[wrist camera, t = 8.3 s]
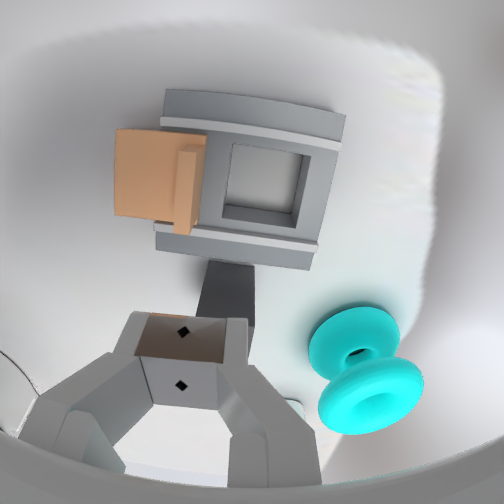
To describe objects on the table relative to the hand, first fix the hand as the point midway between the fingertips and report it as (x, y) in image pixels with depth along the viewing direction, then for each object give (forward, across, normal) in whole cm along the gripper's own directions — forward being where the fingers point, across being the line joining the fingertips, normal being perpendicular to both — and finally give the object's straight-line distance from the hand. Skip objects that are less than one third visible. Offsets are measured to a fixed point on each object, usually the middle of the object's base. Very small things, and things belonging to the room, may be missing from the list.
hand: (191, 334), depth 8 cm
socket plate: (+18, -1, 0) cm, 18 cm away
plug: (+18, 0, +10) cm, 20 cm away
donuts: (+18, -13, +16) cm, 28 cm away
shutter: (+15, +5, -1) cm, 15 cm away
